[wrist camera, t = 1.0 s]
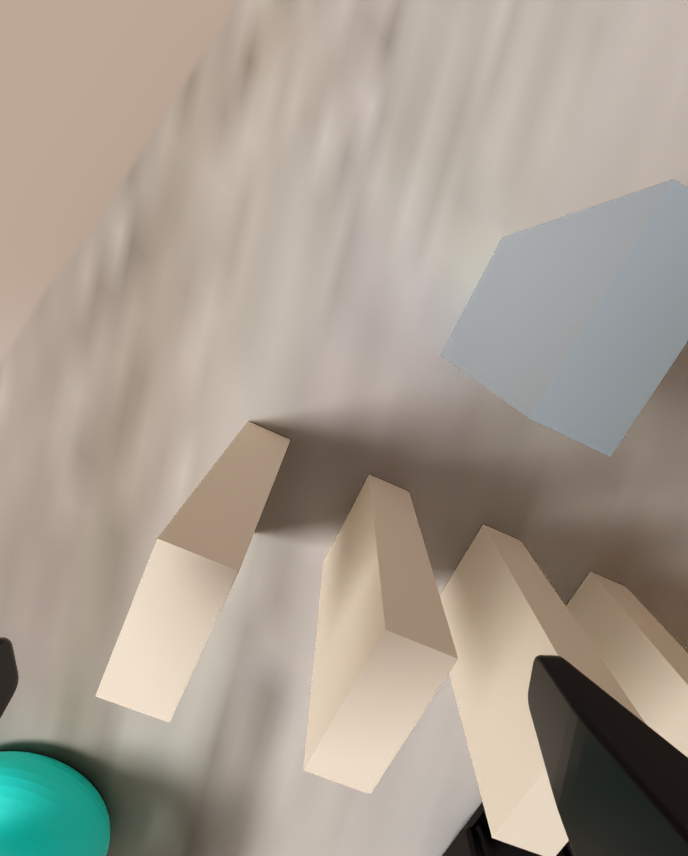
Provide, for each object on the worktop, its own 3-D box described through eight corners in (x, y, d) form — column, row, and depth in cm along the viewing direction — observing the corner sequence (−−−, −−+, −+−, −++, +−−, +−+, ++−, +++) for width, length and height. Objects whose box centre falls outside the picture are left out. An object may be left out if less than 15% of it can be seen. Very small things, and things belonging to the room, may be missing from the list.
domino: (546, 260, 18) (762, 229, 9) (483, 375, 20) (609, 457, 10) (502, 237, 18) (673, 178, 9) (440, 355, 19) (529, 419, 10)
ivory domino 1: (290, 439, 21) (238, 571, 11) (248, 532, 22) (169, 722, 12) (248, 421, 20) (156, 538, 11) (208, 516, 22) (95, 696, 12)
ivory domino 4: (626, 587, 22) (833, 809, 13) (569, 664, 24) (717, 918, 14) (590, 571, 22) (773, 785, 13) (534, 650, 24) (662, 898, 14)
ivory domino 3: (520, 540, 22) (655, 737, 12) (467, 622, 23) (552, 859, 14) (482, 524, 22) (590, 711, 12) (431, 608, 23) (491, 837, 13)
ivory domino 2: (409, 491, 21) (458, 658, 12) (361, 579, 22) (369, 794, 13) (368, 474, 21) (385, 629, 11) (323, 563, 22) (303, 770, 13)
